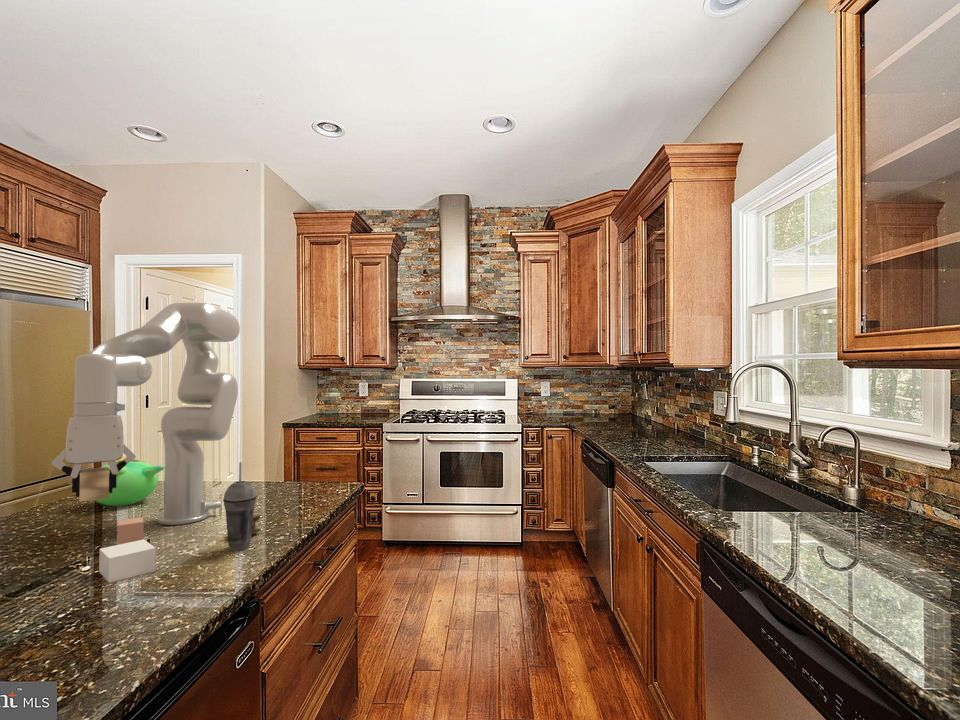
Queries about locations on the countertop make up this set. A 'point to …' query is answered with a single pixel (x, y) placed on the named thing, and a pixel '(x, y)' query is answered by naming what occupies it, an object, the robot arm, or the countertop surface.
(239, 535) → the beverage cup
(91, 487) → the oak block
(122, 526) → the terracotta block
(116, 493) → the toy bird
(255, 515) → the mushroom
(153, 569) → the white block
